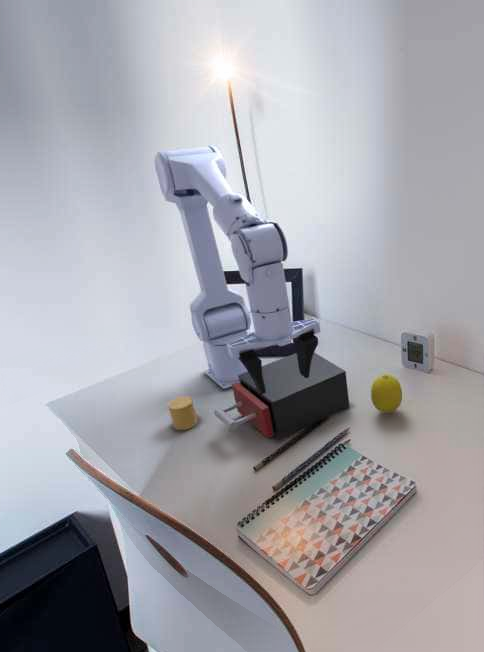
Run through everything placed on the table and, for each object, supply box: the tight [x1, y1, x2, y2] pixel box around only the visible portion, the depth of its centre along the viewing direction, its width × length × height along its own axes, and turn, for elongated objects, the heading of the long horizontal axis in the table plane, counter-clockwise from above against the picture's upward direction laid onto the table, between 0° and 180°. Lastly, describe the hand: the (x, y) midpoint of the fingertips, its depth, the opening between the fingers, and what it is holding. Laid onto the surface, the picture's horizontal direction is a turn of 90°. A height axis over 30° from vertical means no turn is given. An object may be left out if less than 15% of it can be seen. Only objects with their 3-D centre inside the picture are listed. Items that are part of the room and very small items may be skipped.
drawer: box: [213, 382, 275, 439], centre depth 94 cm, size 18×11×6 cm, turn 132°
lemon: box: [370, 373, 403, 415], centre depth 94 cm, size 6×6×8 cm
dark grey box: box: [238, 352, 350, 440], centre depth 96 cm, size 15×13×8 cm
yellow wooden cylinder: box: [167, 396, 199, 431], centre depth 94 cm, size 4×4×4 cm
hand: (283, 383), depth 86 cm, fingers open, 7 cm apart
